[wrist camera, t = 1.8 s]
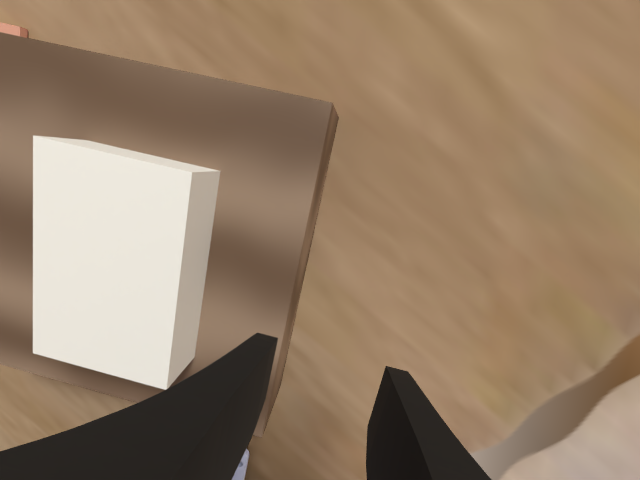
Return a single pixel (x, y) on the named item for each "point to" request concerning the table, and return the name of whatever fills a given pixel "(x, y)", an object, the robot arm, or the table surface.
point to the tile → (119, 258)
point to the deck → (180, 145)
